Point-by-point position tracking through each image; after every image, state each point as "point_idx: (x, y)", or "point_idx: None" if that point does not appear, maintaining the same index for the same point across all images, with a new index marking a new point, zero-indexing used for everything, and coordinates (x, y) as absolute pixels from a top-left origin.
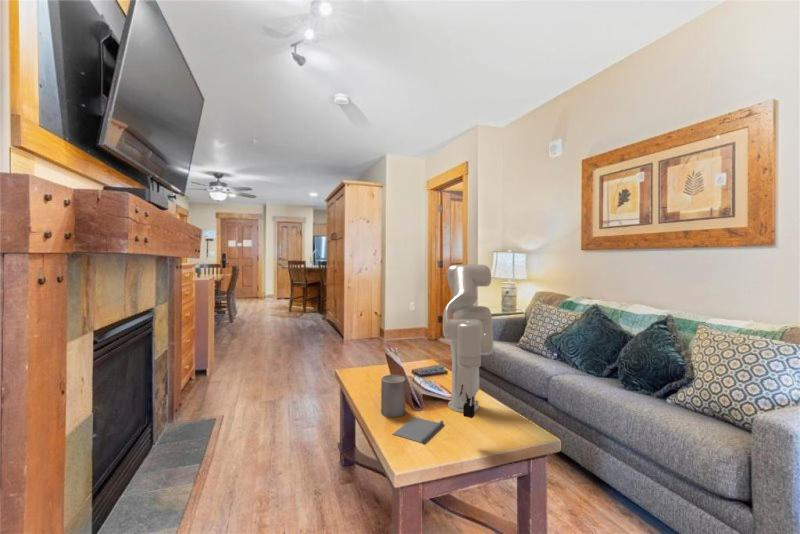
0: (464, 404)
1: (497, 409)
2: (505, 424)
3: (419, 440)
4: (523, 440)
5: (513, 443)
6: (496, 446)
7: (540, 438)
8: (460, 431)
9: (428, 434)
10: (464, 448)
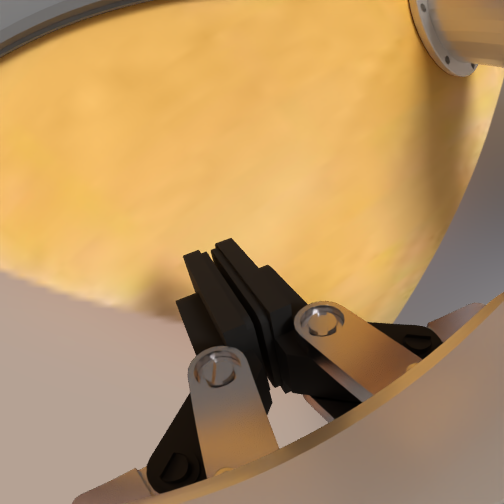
0: (195, 378)
1: (474, 133)
2: (413, 209)
3: (3, 18)
4: None
5: None
6: None
7: None
8: (263, 88)
9: (54, 13)
10: (118, 220)
